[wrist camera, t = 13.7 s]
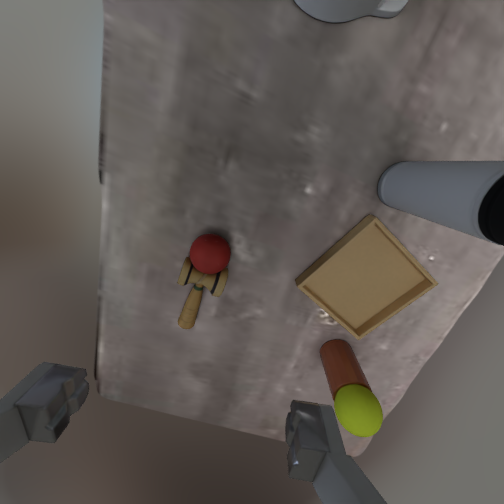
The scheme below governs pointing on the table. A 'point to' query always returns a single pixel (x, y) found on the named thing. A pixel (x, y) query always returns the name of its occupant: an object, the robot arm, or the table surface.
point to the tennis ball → (358, 410)
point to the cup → (341, 366)
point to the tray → (365, 278)
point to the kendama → (203, 273)
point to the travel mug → (450, 194)
